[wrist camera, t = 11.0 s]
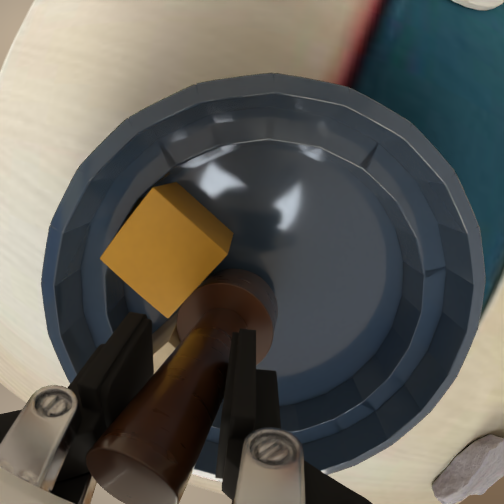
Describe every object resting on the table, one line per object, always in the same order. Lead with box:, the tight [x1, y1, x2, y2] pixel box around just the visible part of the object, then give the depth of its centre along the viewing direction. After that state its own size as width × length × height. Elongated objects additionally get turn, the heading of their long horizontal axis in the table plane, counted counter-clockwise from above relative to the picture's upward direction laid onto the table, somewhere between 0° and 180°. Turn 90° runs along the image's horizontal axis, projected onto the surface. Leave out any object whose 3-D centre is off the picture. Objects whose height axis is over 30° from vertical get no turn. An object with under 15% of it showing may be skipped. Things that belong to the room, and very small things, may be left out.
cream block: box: [152, 312, 181, 373], centre depth 16 cm, size 4×4×4 cm
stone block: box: [432, 434, 504, 504], centre depth 23 cm, size 12×5×10 cm
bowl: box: [41, 73, 485, 482], centre depth 15 cm, size 21×21×6 cm
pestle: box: [86, 269, 278, 504], centre depth 11 cm, size 4×4×12 cm
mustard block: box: [100, 182, 234, 318], centre depth 14 cm, size 4×4×4 cm
